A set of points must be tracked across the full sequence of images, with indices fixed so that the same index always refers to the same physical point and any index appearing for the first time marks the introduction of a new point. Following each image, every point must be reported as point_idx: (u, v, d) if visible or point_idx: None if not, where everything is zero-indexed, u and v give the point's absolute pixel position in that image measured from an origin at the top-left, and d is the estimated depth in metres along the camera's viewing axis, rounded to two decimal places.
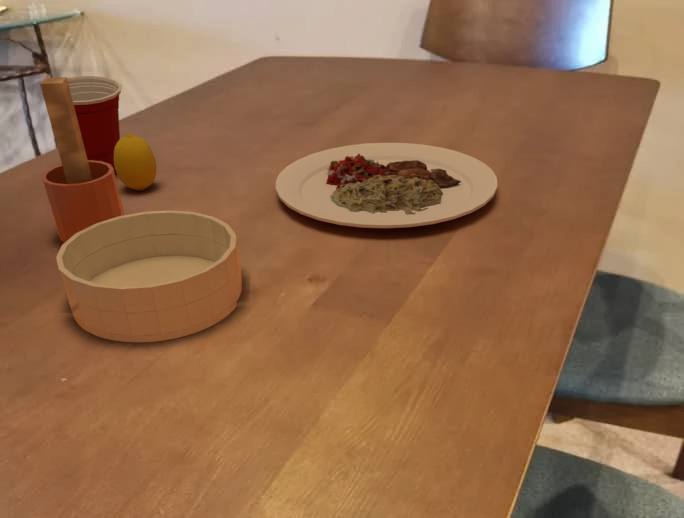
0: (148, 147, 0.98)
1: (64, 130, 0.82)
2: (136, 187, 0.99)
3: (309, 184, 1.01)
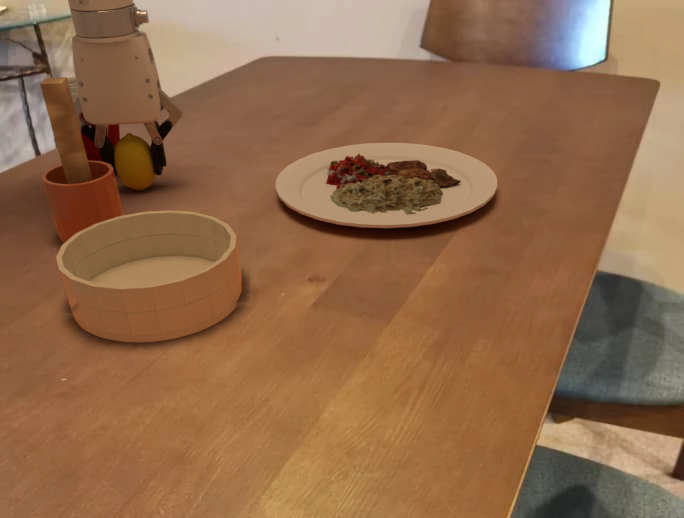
0: (148, 147, 0.98)
1: (64, 130, 0.82)
2: (136, 187, 0.99)
3: (309, 184, 1.01)
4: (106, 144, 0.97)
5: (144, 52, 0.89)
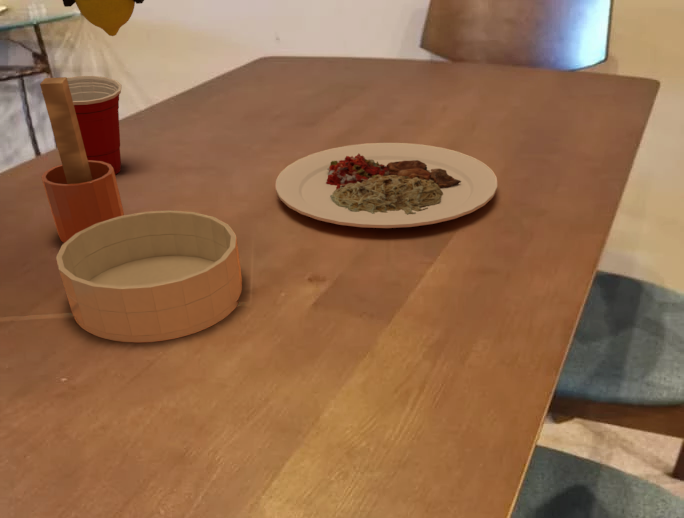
0: None
1: (64, 130, 0.82)
2: (104, 22, 0.66)
3: (309, 184, 1.01)
4: None
5: None
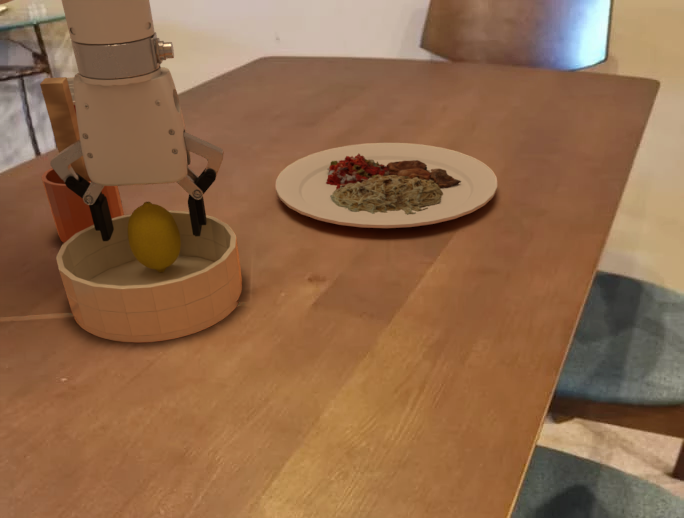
0: (171, 219, 0.77)
1: (64, 130, 0.82)
2: (156, 267, 0.79)
3: (309, 184, 1.01)
4: (98, 200, 0.75)
5: (168, 96, 0.68)
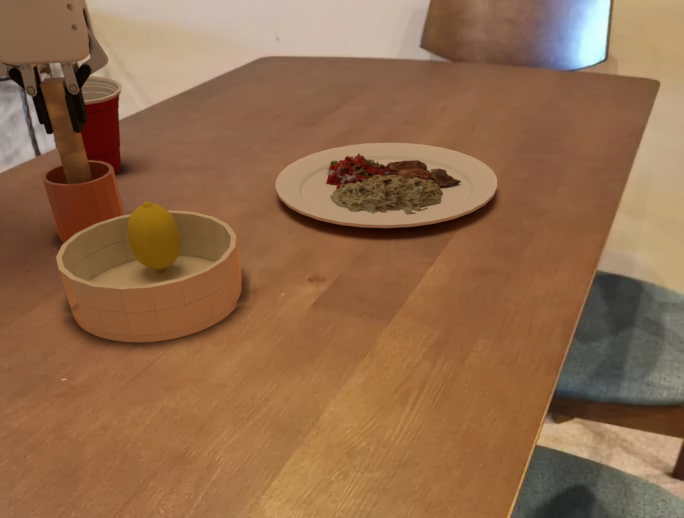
0: (171, 219, 0.77)
1: (64, 130, 0.82)
2: (156, 267, 0.79)
3: (309, 184, 1.01)
4: (40, 92, 0.79)
5: None
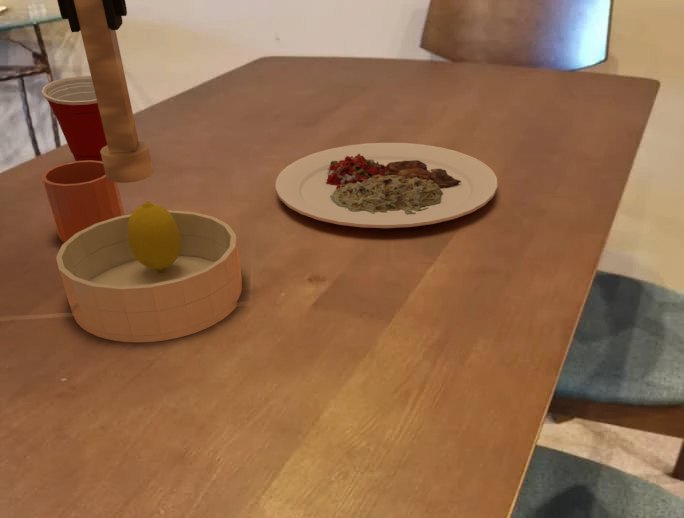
0: (171, 219, 0.77)
1: (95, 25, 0.60)
2: (156, 267, 0.79)
3: (309, 184, 1.01)
4: None
5: None
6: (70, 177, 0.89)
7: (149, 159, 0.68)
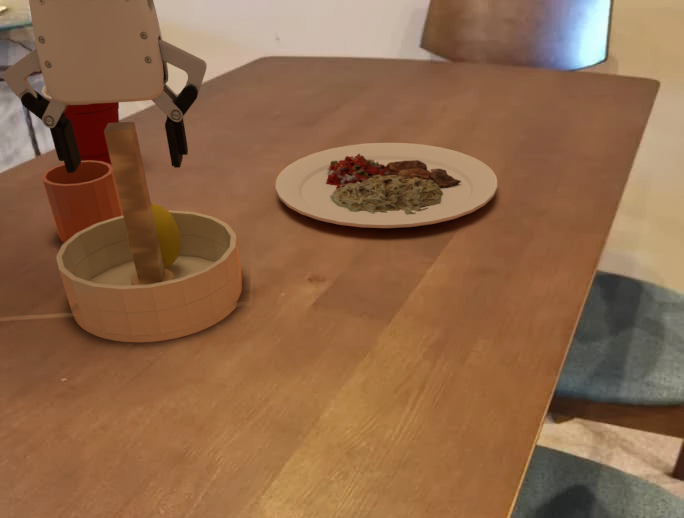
0: (171, 219, 0.77)
1: (129, 184, 0.68)
2: None
3: (309, 184, 1.01)
4: (60, 122, 0.64)
5: None
6: (70, 177, 0.89)
7: None
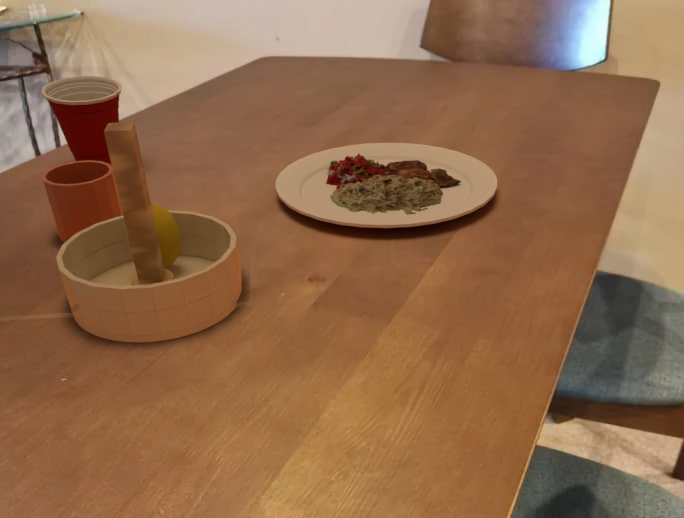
0: (171, 219, 0.77)
1: (129, 184, 0.68)
2: None
3: (309, 184, 1.01)
4: None
5: None
6: (70, 177, 0.89)
7: None
